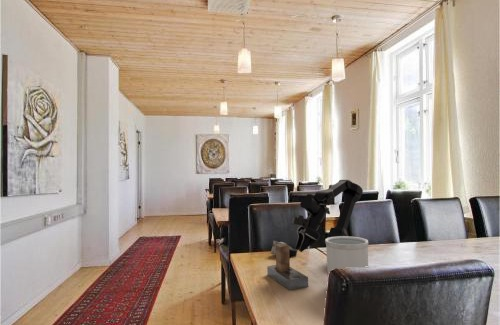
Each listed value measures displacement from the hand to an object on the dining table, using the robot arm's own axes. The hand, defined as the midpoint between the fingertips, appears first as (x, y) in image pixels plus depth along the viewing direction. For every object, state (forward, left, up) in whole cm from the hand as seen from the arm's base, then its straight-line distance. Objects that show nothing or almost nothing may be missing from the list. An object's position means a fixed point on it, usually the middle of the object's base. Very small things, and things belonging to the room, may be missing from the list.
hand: (298, 250), depth 128 cm
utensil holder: (-21, +12, -9) cm, 26 cm away
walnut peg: (+4, +9, -9) cm, 13 cm away
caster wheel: (+13, -24, -10) cm, 29 cm away
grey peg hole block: (+2, +11, -9) cm, 14 cm away
